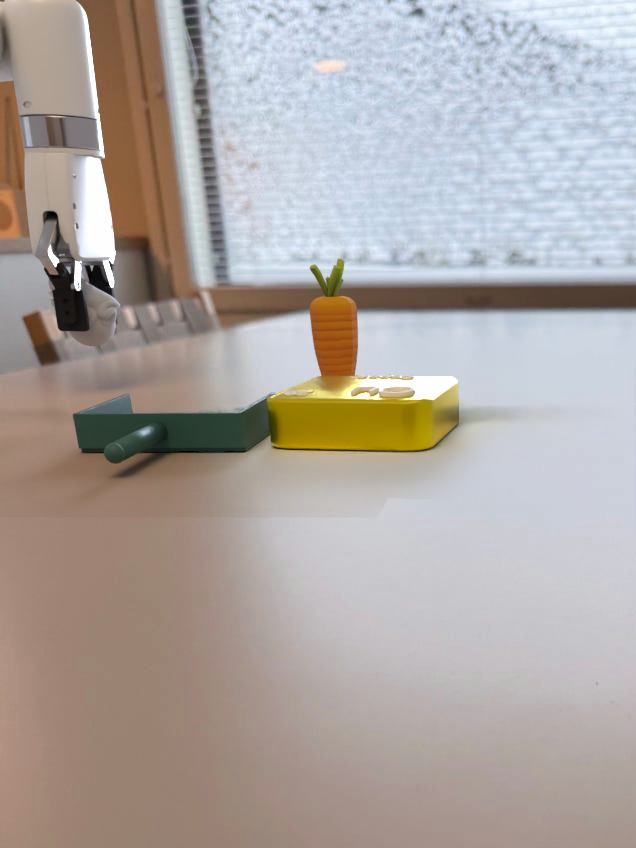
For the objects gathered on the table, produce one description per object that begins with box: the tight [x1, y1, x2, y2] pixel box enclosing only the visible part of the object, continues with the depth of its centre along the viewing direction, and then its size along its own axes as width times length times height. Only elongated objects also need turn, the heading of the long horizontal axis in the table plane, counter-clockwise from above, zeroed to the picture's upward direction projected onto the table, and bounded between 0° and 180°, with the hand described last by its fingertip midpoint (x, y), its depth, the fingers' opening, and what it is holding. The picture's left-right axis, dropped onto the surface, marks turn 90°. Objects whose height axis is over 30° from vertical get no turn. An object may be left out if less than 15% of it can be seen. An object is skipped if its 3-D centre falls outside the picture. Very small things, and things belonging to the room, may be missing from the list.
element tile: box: [267, 374, 460, 452], centre depth 88 cm, size 15×15×5 cm
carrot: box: [309, 258, 359, 376], centre depth 102 cm, size 5×5×15 cm
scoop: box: [72, 392, 276, 465], centre depth 83 cm, size 21×15×3 cm
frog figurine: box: [48, 277, 121, 347], centre depth 102 cm, size 6×7×7 cm
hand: (88, 326), depth 103 cm, fingers closed on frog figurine, 6 cm apart
